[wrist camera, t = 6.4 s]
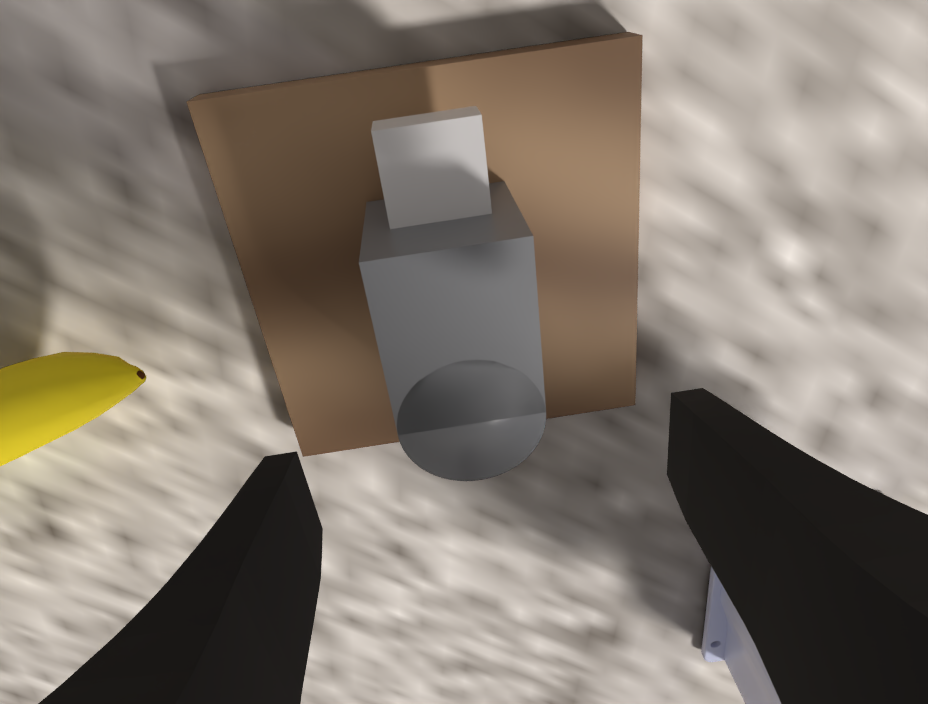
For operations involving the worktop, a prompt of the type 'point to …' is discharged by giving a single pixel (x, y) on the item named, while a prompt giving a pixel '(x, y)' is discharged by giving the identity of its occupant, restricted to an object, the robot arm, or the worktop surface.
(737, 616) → the robot arm
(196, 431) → the worktop surface
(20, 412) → the banana
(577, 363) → the board
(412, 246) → the plug
